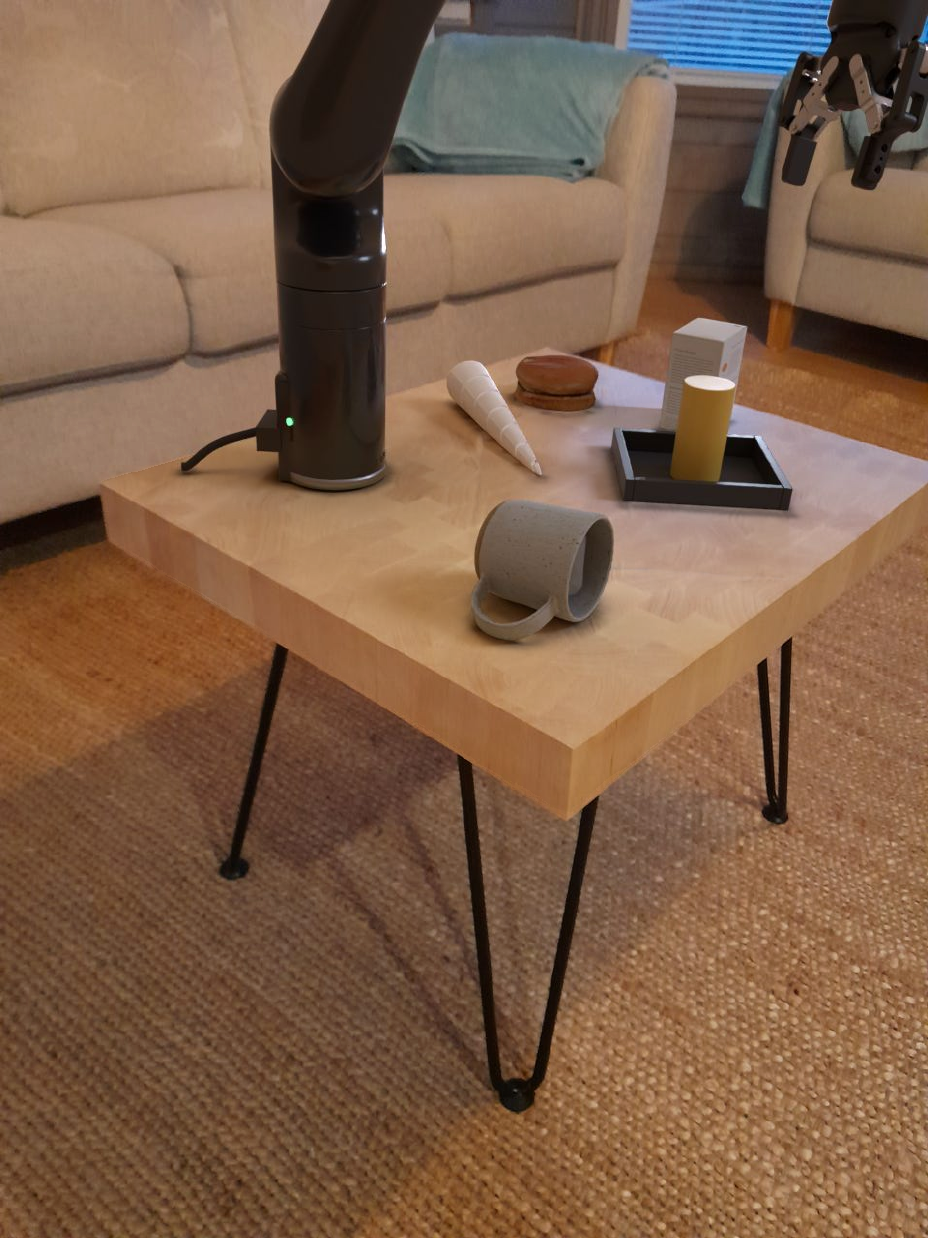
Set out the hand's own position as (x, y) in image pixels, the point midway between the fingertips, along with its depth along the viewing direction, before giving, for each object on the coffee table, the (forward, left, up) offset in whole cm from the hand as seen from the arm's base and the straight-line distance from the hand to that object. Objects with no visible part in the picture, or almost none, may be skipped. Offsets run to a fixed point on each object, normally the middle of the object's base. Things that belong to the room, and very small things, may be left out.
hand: (825, 186), depth 88 cm
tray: (-8, -3, -26) cm, 27 cm away
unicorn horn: (-26, +7, -26) cm, 38 cm away
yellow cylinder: (-8, -3, -25) cm, 27 cm away
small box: (-5, +13, -26) cm, 30 cm away
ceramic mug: (-23, -30, -26) cm, 46 cm away
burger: (-20, +19, -26) cm, 38 cm away
